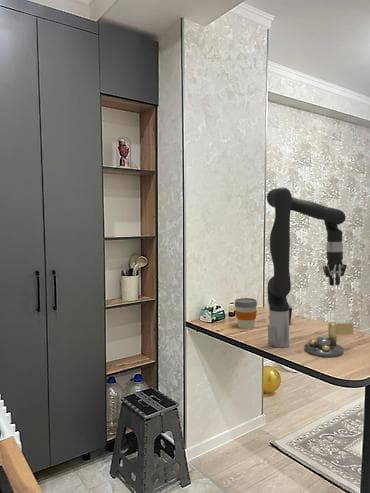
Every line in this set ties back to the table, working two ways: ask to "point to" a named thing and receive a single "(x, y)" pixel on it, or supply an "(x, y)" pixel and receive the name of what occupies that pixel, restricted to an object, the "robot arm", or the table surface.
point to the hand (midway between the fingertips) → (334, 284)
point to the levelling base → (321, 354)
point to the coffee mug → (290, 314)
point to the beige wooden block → (338, 331)
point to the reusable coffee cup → (246, 312)
